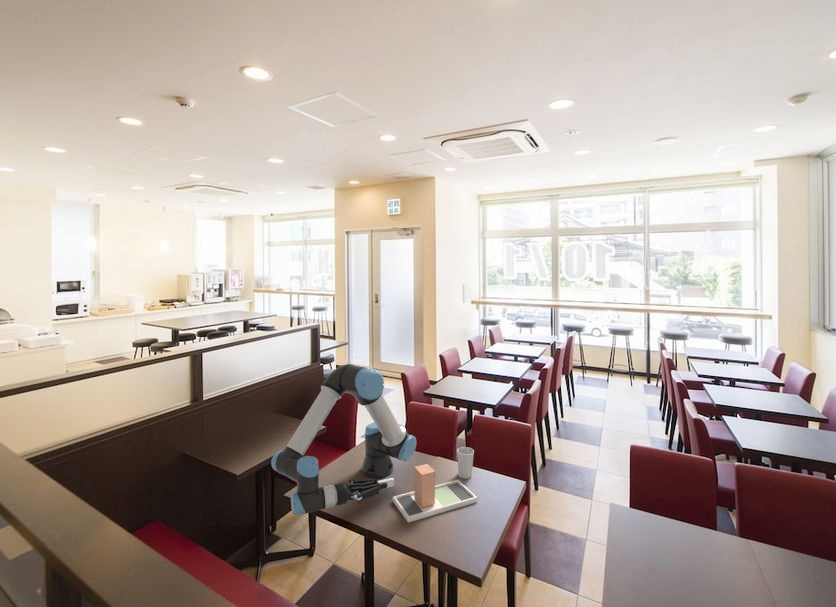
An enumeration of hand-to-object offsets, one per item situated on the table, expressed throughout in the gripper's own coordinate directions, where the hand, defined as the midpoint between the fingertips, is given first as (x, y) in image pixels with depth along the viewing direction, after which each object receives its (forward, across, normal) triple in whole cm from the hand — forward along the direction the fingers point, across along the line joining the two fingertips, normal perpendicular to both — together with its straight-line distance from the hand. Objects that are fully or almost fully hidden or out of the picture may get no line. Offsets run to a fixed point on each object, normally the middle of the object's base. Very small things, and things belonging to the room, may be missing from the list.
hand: (393, 481), depth 161 cm
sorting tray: (+19, 0, -13) cm, 23 cm away
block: (+14, 0, -12) cm, 19 cm away
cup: (+42, -13, -13) cm, 46 cm away
